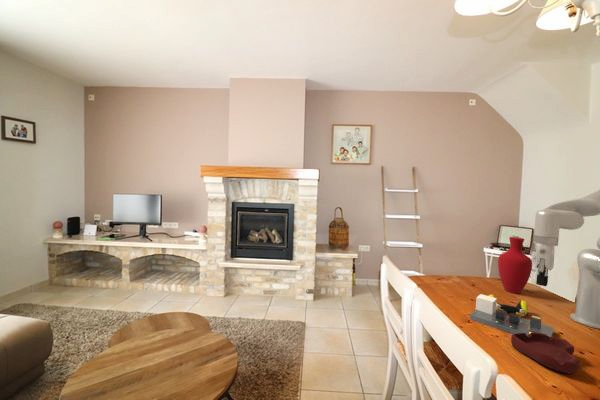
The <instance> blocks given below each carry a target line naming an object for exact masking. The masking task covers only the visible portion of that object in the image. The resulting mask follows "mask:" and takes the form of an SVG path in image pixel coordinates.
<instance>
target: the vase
mask: <svg viewBox="0 0 600 400" xmlns="http://www.w3.org/2000/svg"><path fill="white" fill-rule="evenodd" d="M524 241H525V238H523V237H517V236H509V243H510V247H509V250H507V251H505V252H502V253H501V254H500V255H499V256H498V258H497V266H498V273H499V278H500V281H501V283H502V286H503V289H504V291H506V292H507V293H511V294H518V295H519V294H521V293H522V291H523V290H524V288H525V287H526V285H527V284H528V281H529V279H530V277H531V273H532V271H533V261H532V259H531V258H530V257H529V256H528V255H526V254H525V253H524V252H523V250H522V247H523V245H524Z"/></svg>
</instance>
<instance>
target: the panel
mask: <svg viewBox="0 0 600 400" xmlns="http://www.w3.org/2000/svg"><path fill="white" fill-rule="evenodd" d="M520 316H521V315H518V314H515V313H510V314H508V313H507V311H505V310H501V309H497V310H496V311H495V312H494V313H493V314H488V313H485V312H482V311H479V310H476V309H475V310H474V311H473V312H471V313H470V314H469V320H471V321H474V322H477V323H480V324H482V325H486V326H489V327H491V328H495V329H498V330H500V331H503V332H505V333H509V334H511V335H512V334H516V333H526V336H527V335H529V334H530V333H543V334H546V335H547V336H549V337H552V336H553V335H554V333H555V327H553V326H550V325H546V324H544V323H541V328H540V329H539V328H536V327H533V326H530V319H527V318H524V317H520ZM553 337H554V336H553Z"/></svg>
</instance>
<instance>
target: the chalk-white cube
mask: <svg viewBox="0 0 600 400" xmlns="http://www.w3.org/2000/svg"><path fill="white" fill-rule="evenodd" d="M475 299H476V300H475V310H479V311H482V312H485V313H488V314H493V313H494V312H495V311H496V304H497V302H498V298H497V297H495V298H493V297H490V296H489V295H485V294H482V293H480V294H479V295H477V296H476V298H475Z"/></svg>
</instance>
